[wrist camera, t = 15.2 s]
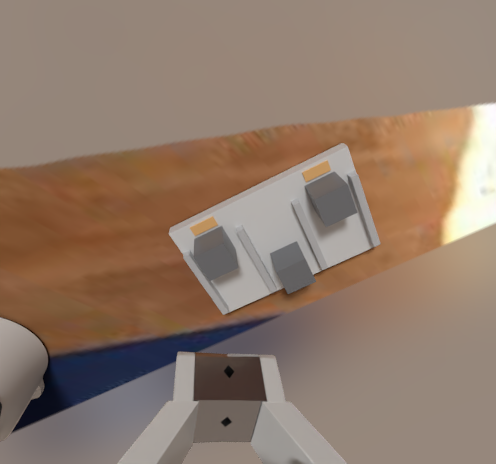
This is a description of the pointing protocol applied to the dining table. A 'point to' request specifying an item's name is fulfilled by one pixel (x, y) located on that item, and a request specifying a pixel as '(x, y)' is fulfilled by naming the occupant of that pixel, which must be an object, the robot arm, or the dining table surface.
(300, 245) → the switch board
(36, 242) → the dining table surface
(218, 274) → the gray cube
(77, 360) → the dining table surface
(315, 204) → the grey cube
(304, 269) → the grey cubic block
